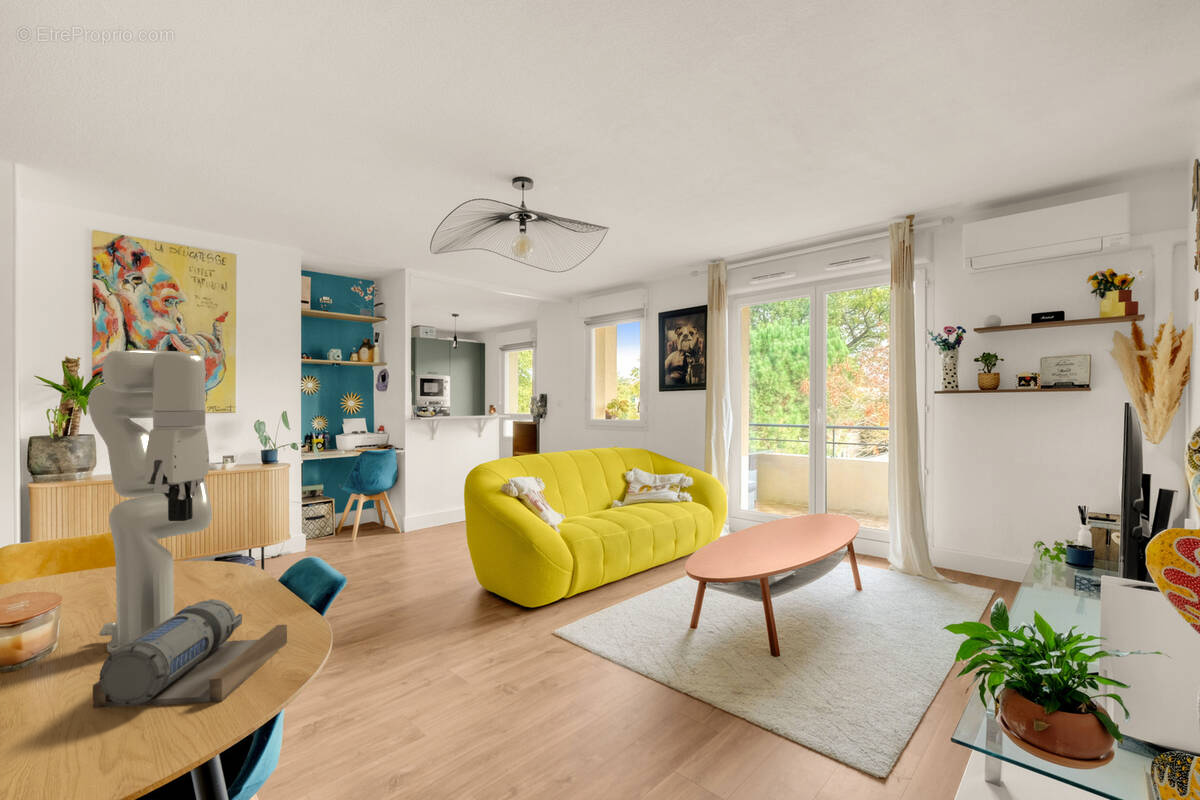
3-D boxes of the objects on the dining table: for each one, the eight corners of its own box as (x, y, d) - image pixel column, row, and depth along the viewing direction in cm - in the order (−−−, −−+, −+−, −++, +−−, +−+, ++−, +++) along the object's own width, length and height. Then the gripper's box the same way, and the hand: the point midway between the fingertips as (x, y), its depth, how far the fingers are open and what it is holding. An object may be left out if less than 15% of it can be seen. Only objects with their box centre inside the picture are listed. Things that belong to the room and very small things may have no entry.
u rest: (93, 708, 90) (92, 685, 90) (184, 647, 112) (184, 628, 112) (222, 701, 92) (221, 678, 92) (287, 643, 114) (286, 624, 114)
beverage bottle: (76, 709, 87) (179, 640, 112) (162, 708, 89) (245, 640, 114) (79, 648, 87) (182, 592, 112) (166, 648, 89) (248, 593, 114)
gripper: (188, 418, 104) (189, 510, 104) (123, 423, 89) (124, 531, 89) (227, 418, 104) (228, 510, 105) (169, 423, 89) (170, 531, 90)
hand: (180, 519), depth 97 cm, fingers closed
